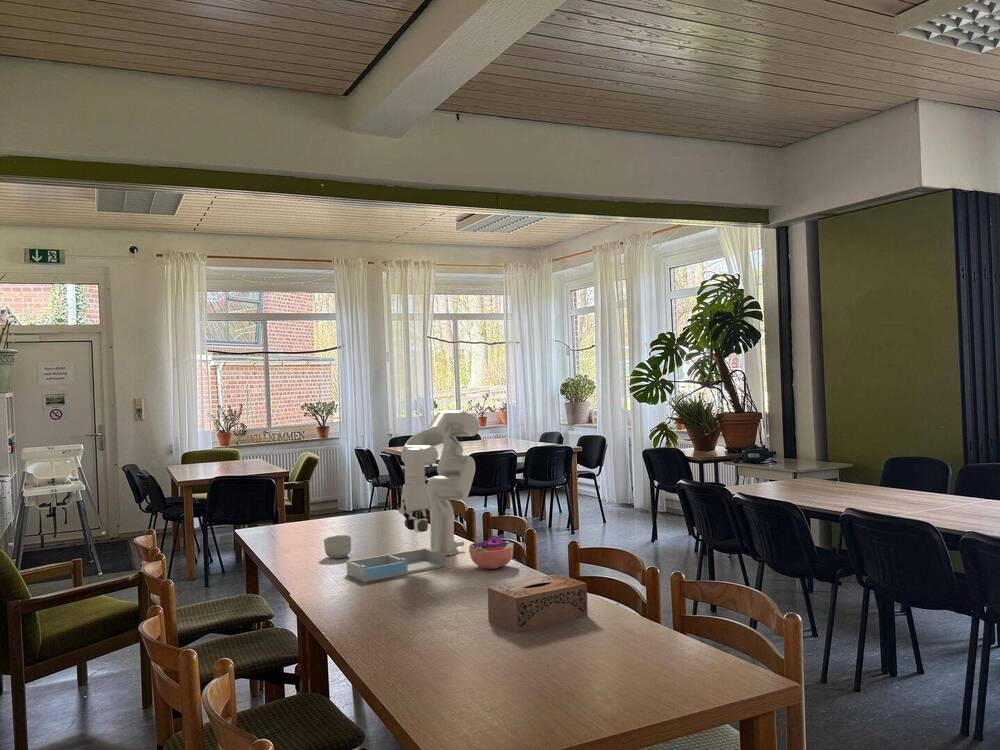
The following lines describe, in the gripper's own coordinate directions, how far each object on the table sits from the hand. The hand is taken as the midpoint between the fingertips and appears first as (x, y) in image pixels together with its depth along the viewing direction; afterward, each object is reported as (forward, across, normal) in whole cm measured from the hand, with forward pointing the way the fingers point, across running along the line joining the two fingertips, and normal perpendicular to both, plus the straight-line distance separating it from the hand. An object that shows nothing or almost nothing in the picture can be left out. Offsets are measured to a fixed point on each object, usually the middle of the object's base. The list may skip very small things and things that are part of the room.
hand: (416, 528), depth 303 cm
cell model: (+15, -21, +19) cm, 32 cm away
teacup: (+15, +14, -38) cm, 44 cm away
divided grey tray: (+15, +8, 0) cm, 17 cm away
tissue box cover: (+15, +6, +80) cm, 81 cm away
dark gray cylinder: (-1, 0, 0) cm, 1 cm away
